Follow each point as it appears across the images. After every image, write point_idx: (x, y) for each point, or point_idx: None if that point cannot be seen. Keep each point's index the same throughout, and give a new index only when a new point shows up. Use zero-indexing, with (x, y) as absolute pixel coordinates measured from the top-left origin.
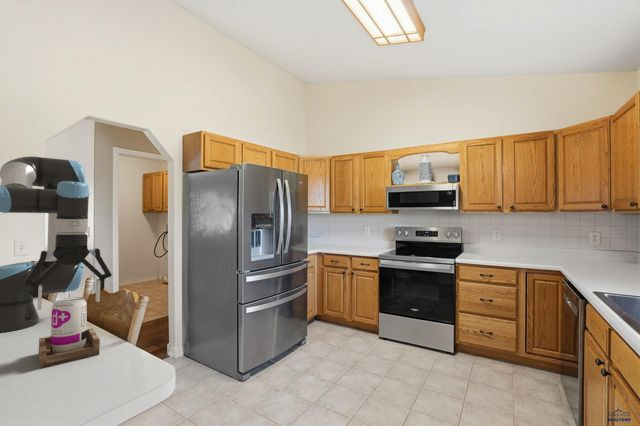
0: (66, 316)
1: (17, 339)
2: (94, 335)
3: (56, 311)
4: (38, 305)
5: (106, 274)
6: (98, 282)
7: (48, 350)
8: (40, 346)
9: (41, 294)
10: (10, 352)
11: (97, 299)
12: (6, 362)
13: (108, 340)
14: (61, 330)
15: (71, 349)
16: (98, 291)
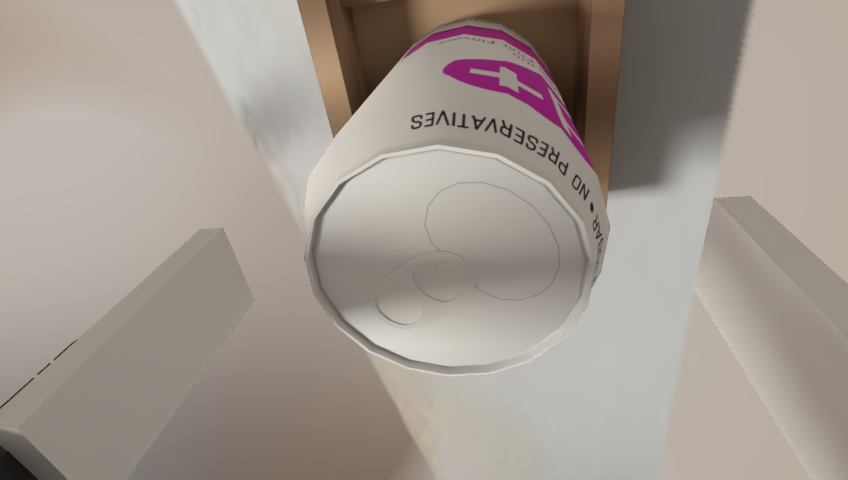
0: (478, 71)
1: (633, 406)
2: (335, 99)
3: (569, 135)
4: (776, 222)
5: None
6: (36, 400)
7: None
8: (617, 65)
9: (839, 326)
10: (678, 283)
11: (206, 241)
12: (716, 161)
13: None
14: (512, 54)
15: (455, 22)
16: (140, 298)
